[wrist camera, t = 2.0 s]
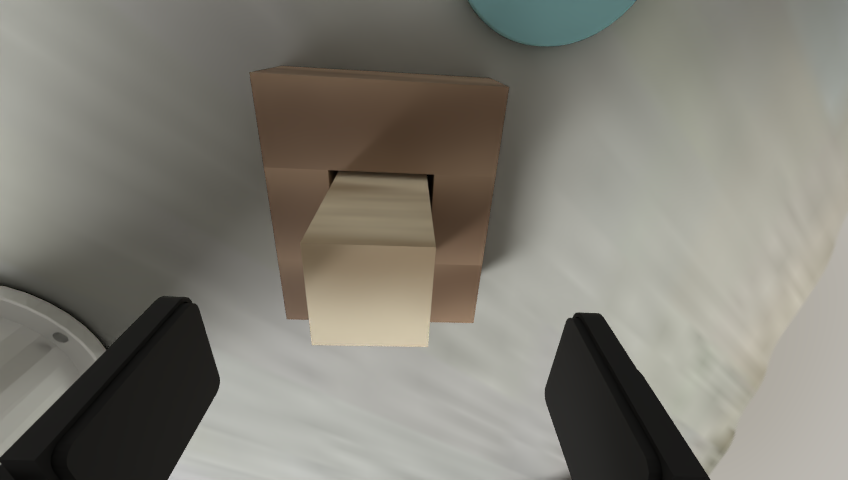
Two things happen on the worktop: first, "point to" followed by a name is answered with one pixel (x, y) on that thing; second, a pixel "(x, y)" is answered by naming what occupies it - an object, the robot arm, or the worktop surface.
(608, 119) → the worktop surface
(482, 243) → the walnut socket block
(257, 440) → the worktop surface
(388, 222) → the maple peg
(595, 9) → the teal rubber pad
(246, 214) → the worktop surface
